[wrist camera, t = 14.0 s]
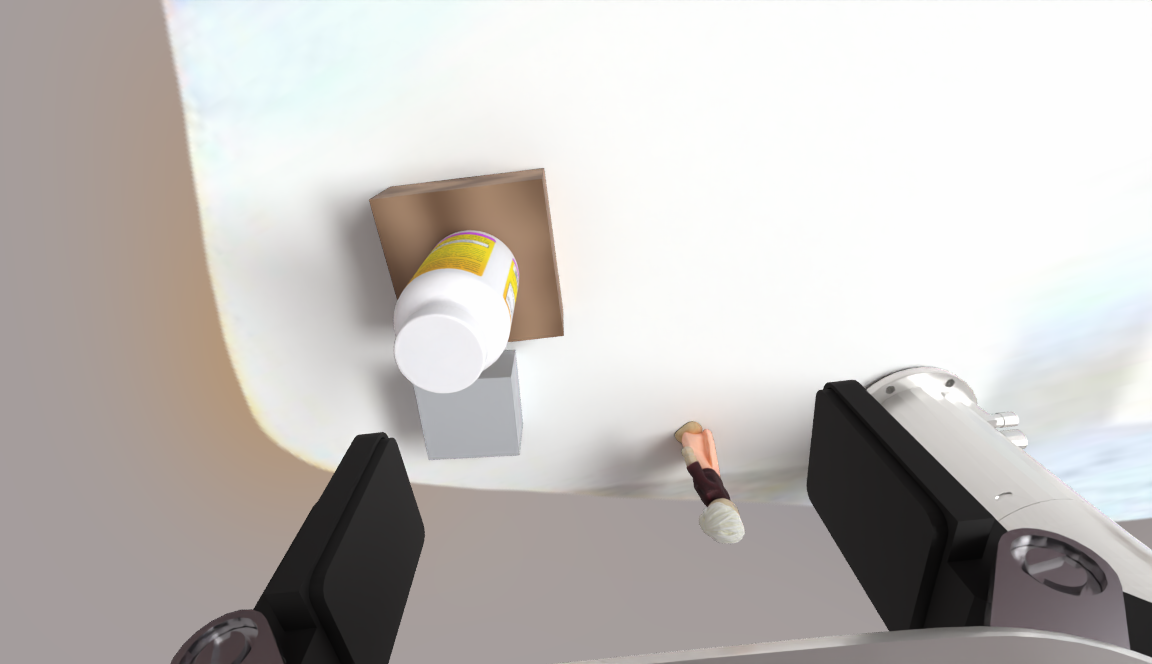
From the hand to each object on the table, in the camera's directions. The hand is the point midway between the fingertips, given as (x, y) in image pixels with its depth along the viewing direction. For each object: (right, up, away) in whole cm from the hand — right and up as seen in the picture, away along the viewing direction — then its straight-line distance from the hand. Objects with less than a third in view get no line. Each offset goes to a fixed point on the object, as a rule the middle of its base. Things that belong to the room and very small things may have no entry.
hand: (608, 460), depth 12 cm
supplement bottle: (-8, +7, +27) cm, 29 cm away
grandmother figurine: (+11, -7, +40) cm, 42 cm away
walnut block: (-8, +9, +31) cm, 34 cm away
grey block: (-10, -2, +37) cm, 38 cm away
